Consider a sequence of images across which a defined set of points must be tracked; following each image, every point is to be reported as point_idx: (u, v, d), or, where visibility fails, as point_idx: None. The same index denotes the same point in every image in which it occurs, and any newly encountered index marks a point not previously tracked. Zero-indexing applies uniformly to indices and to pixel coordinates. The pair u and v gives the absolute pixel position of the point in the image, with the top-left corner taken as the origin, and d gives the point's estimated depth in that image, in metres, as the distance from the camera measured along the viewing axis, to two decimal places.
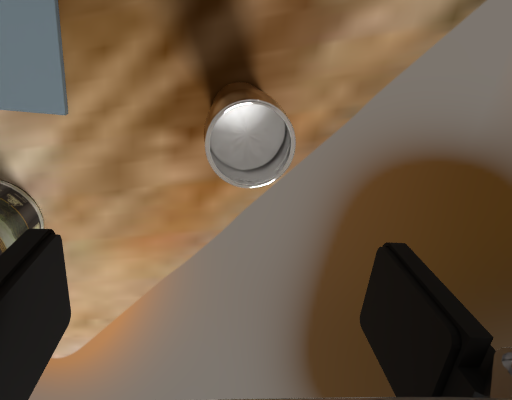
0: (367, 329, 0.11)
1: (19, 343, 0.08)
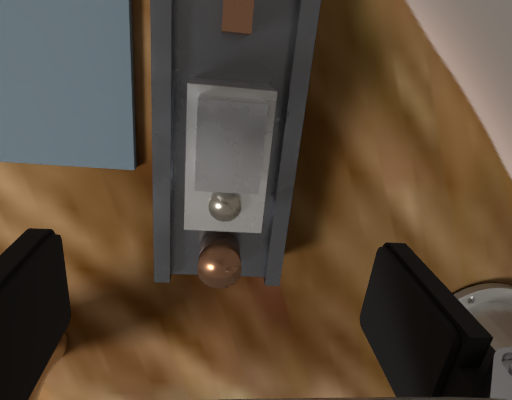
0: (367, 329, 0.11)
1: (19, 343, 0.08)
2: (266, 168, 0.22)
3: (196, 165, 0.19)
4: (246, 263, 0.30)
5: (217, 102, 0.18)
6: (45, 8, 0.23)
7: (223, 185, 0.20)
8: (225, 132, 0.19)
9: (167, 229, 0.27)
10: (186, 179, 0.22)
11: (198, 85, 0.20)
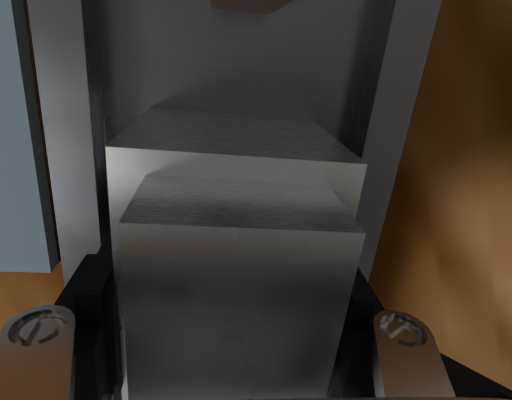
0: None
1: None
2: None
3: None
4: None
5: (190, 234, 0.05)
6: None
7: None
8: (220, 316, 0.06)
9: None
10: (123, 371, 0.09)
11: (139, 152, 0.07)
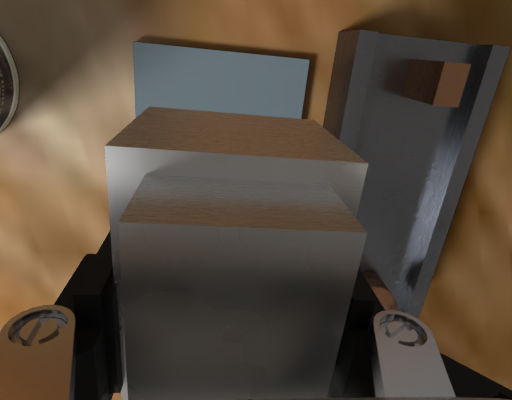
0: None
1: None
2: None
3: None
4: None
5: (190, 233, 0.05)
6: (233, 72, 0.25)
7: None
8: (219, 317, 0.06)
9: None
10: (123, 371, 0.09)
11: (139, 151, 0.07)
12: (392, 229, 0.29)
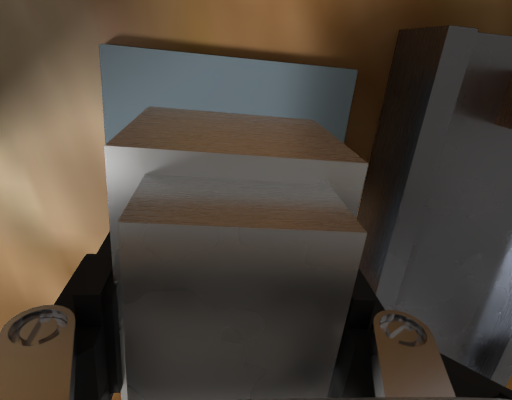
0: None
1: None
2: None
3: None
4: None
5: (190, 233, 0.05)
6: (246, 87, 0.17)
7: None
8: (220, 317, 0.06)
9: None
10: (123, 372, 0.09)
11: (139, 151, 0.07)
12: (463, 301, 0.21)
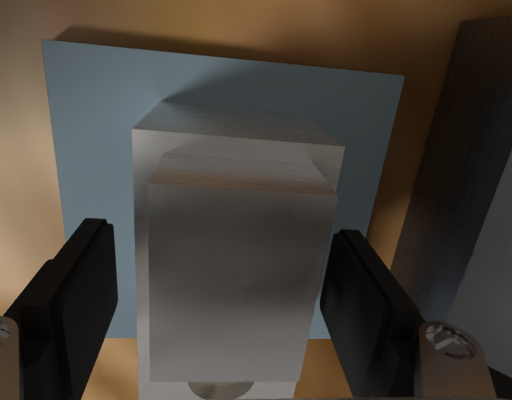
0: (324, 312, 0.12)
1: (87, 319, 0.09)
2: None
3: (152, 333, 0.08)
4: None
5: (202, 193, 0.07)
6: (252, 100, 0.12)
7: (218, 368, 0.09)
8: (224, 262, 0.07)
9: None
10: (139, 323, 0.10)
11: (159, 133, 0.08)
12: None
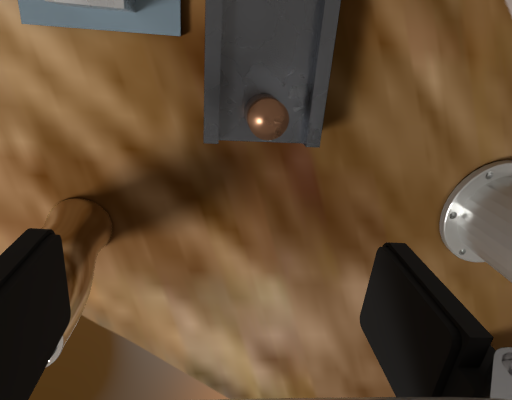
0: (367, 329, 0.11)
1: (19, 343, 0.08)
2: None
3: None
4: (287, 128, 0.32)
5: None
6: None
7: None
8: None
9: (217, 84, 0.28)
10: None
11: None
12: (283, 42, 0.29)
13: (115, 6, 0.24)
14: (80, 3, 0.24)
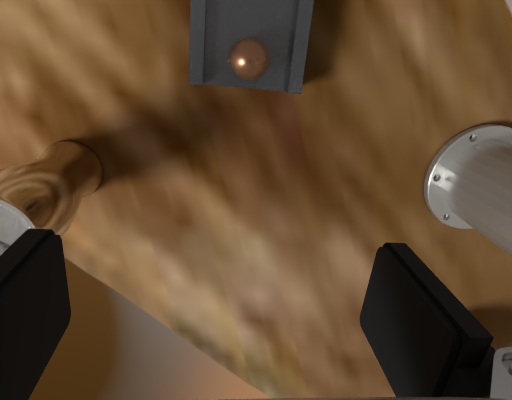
0: (367, 329, 0.11)
1: (19, 343, 0.08)
2: None
3: None
4: (270, 75, 0.33)
5: None
6: None
7: None
8: None
9: (202, 25, 0.30)
10: None
11: None
12: None
13: None
14: None
